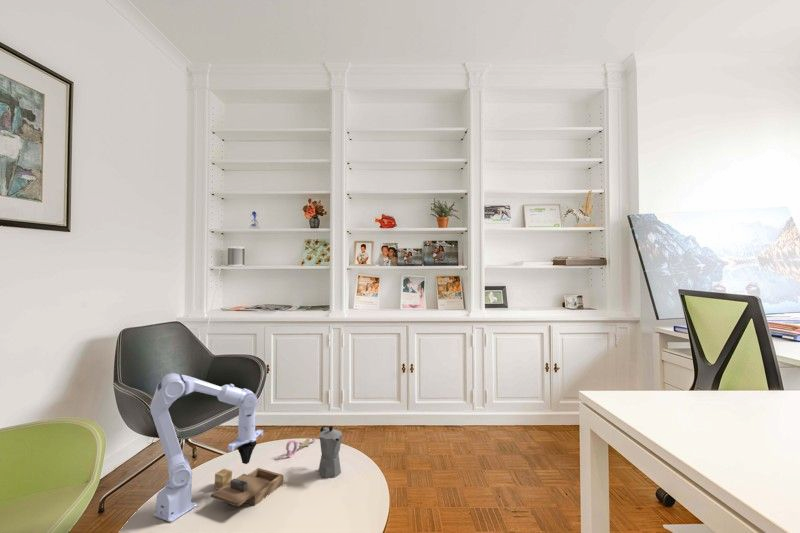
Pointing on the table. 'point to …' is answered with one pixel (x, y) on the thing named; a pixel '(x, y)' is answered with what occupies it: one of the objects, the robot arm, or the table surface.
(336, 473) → the coffeepot
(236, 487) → the lid
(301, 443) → the decorative key
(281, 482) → the brown shallow open box
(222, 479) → the wooden block
